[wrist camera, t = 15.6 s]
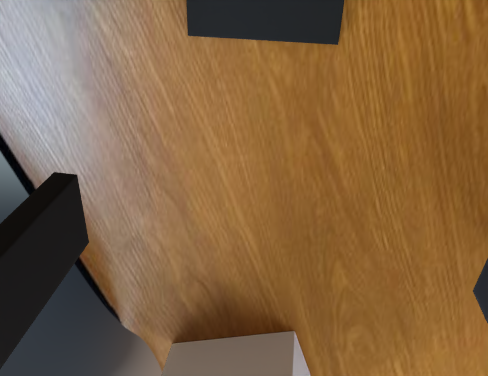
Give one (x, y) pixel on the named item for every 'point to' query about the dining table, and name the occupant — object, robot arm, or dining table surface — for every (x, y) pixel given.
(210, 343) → the white pentagonal block
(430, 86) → the dining table surface
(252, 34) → the rubber mat
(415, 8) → the dining table surface
